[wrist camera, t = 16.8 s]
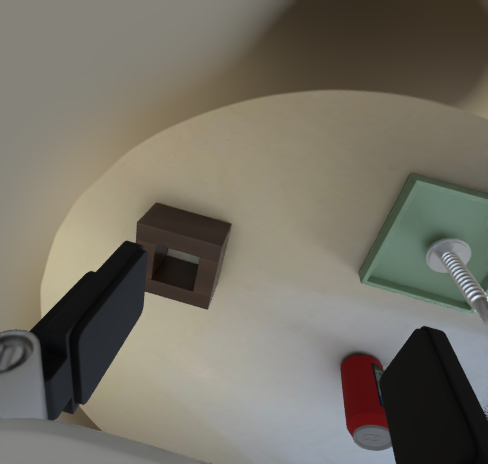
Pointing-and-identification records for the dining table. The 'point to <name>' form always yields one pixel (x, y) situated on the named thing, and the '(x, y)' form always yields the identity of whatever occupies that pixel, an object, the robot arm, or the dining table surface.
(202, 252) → the holder
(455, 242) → the screw
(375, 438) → the beverage can
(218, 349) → the dining table surface
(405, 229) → the tray
